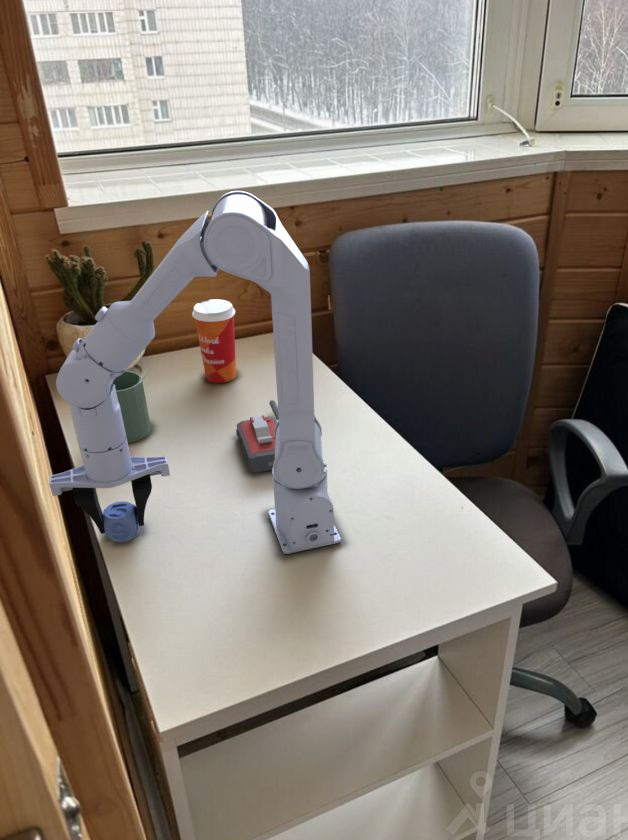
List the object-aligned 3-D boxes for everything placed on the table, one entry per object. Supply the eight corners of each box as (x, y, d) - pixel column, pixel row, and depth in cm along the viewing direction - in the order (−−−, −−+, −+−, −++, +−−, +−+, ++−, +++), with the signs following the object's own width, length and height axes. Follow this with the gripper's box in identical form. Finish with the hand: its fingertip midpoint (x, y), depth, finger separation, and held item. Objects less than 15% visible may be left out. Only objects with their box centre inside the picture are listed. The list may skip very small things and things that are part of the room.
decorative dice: (139, 522, 101) (134, 499, 98) (138, 540, 97) (133, 517, 95) (109, 526, 100) (104, 503, 98) (108, 544, 97) (102, 521, 94)
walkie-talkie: (307, 468, 112) (278, 407, 127) (306, 444, 109) (276, 385, 125) (251, 479, 109) (228, 415, 125) (248, 454, 107) (225, 392, 122)
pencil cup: (153, 438, 119) (143, 387, 113) (107, 446, 117) (95, 394, 111) (149, 417, 124) (139, 367, 119) (105, 424, 122) (93, 374, 117)
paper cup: (192, 375, 137) (182, 305, 129) (226, 363, 142) (219, 294, 134) (215, 390, 132) (206, 318, 125) (250, 377, 137) (243, 306, 129)
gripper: (158, 415, 95) (173, 498, 103) (41, 434, 91) (65, 518, 99) (164, 443, 90) (179, 528, 97) (40, 463, 86) (65, 550, 93)
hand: (122, 525), depth 98 cm, fingers closed on decorative dice, 4 cm apart
